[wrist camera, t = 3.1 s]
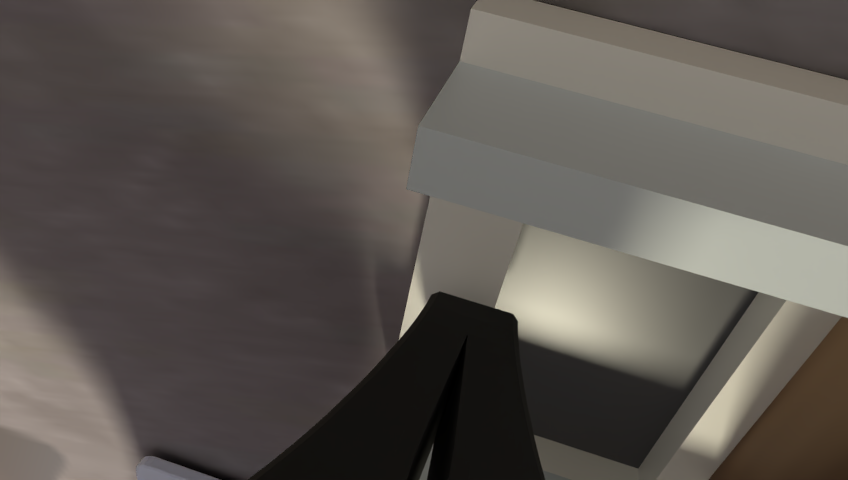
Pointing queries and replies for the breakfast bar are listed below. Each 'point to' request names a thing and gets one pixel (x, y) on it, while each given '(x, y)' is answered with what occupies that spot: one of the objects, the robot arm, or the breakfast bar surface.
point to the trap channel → (635, 230)
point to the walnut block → (801, 423)
